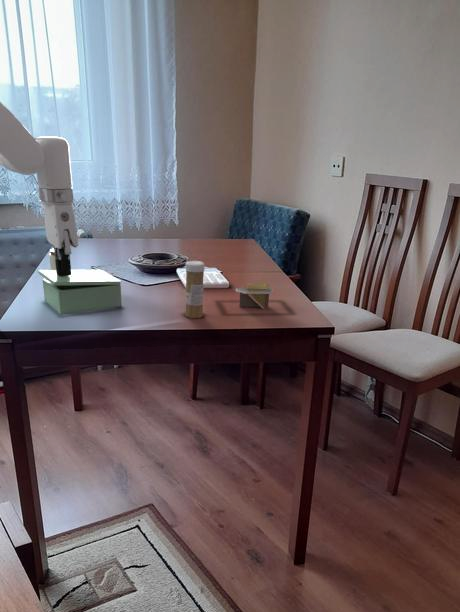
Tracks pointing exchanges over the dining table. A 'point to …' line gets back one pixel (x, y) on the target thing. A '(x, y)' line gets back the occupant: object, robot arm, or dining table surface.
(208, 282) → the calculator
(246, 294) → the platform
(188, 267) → the sprinkles bottle
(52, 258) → the jar
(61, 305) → the chest
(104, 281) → the chest lid
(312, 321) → the dining table surface
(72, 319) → the dining table surface
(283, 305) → the dining table surface
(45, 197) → the robot arm
